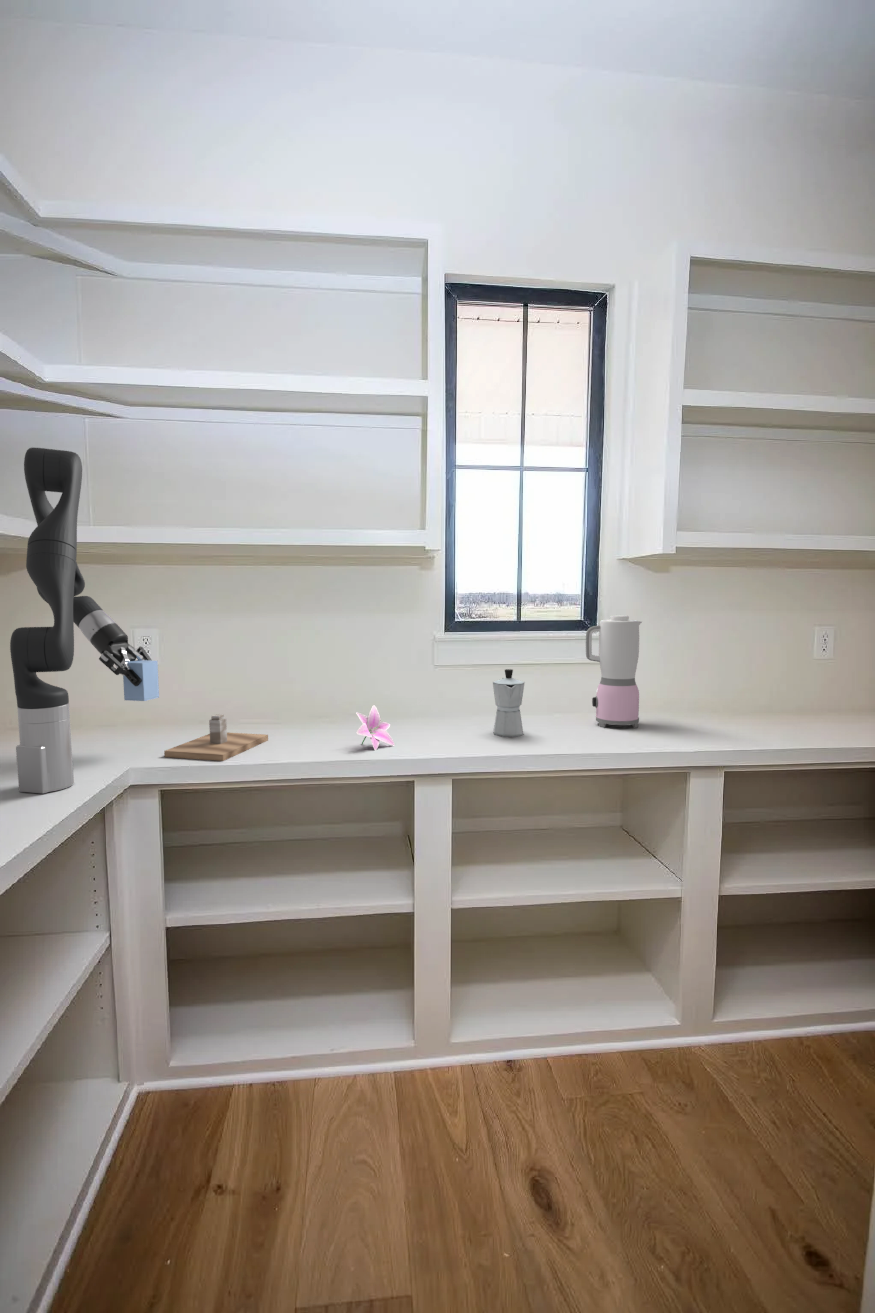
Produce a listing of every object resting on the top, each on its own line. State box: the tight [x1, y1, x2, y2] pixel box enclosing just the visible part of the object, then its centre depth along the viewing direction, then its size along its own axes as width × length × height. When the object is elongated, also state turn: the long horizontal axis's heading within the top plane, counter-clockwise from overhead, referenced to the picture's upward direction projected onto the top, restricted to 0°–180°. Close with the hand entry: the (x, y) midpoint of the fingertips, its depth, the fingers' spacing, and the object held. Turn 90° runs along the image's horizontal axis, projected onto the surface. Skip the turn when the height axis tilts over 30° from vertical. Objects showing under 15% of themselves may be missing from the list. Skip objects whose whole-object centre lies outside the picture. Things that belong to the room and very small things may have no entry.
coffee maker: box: [492, 668, 526, 738], centre depth 191 cm, size 15×9×18 cm, turn 0°
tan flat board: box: [163, 714, 269, 762], centre depth 175 cm, size 22×16×8 cm
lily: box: [355, 704, 396, 751], centre depth 177 cm, size 12×12×10 cm
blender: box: [585, 614, 643, 729], centre depth 200 cm, size 16×12×32 cm
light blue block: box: [122, 659, 160, 702], centre depth 168 cm, size 6×6×9 cm
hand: (147, 681), depth 168 cm, fingers closed on light blue block, 5 cm apart
